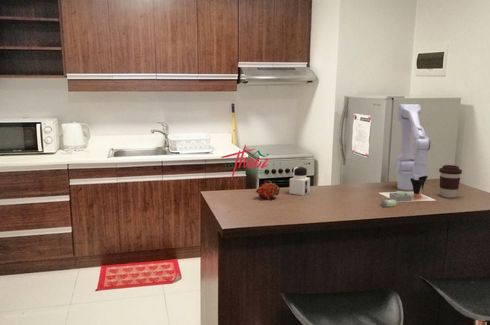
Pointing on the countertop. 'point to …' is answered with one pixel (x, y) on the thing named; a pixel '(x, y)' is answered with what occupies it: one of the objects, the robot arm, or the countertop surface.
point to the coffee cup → (449, 180)
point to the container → (299, 182)
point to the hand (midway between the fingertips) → (418, 192)
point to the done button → (400, 193)
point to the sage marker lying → (388, 203)
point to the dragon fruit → (268, 190)
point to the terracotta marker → (418, 194)
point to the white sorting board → (406, 197)
